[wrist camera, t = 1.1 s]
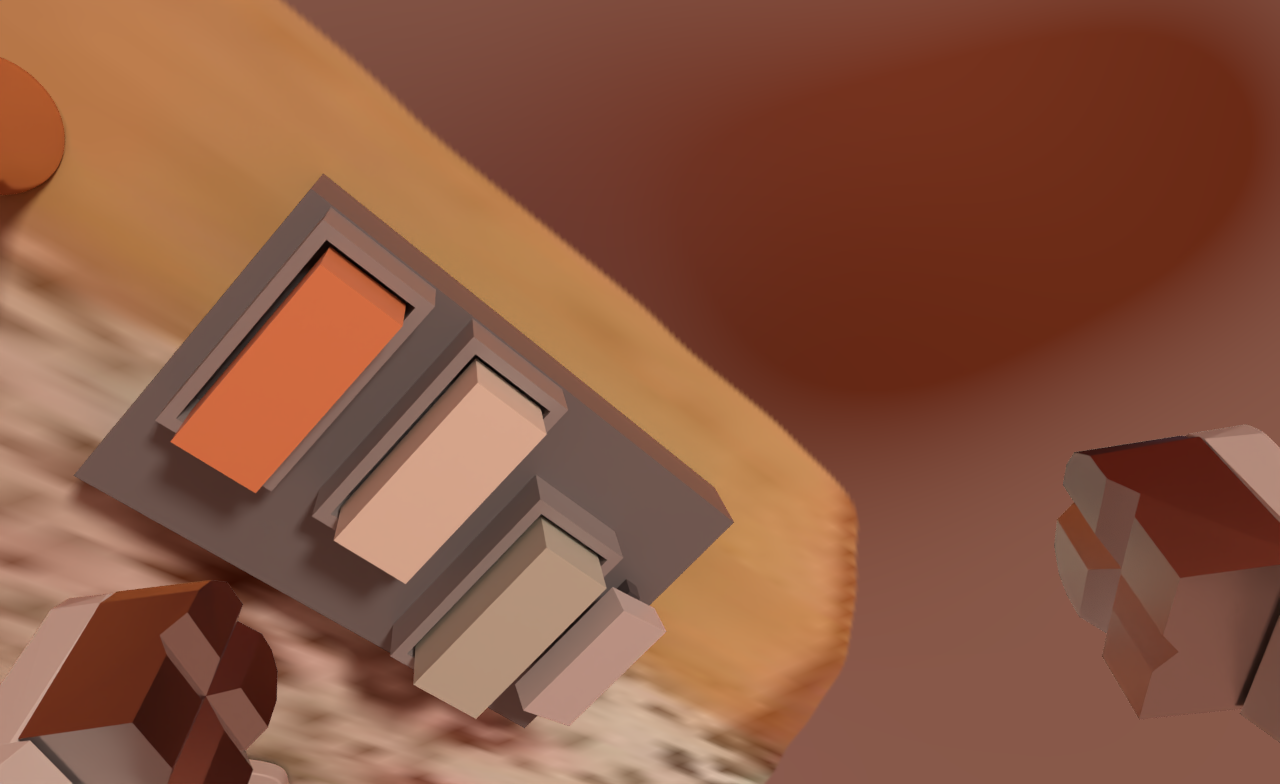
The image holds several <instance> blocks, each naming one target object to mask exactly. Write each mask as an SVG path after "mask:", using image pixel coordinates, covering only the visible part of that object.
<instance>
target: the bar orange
mask: <svg viewBox="0 0 1280 784" xmlns="http://www.w3.org/2000/svg"><path fill="white" fill-rule="evenodd" d="M405 308H406V304H405V303H403V302H402V301H401V300H399V299H398V298H397V297H396V296H394V295H393V294H392V293H390V292H389V291H388V290H386V289H385V288H384V287H382V286H381V285H380V284H379V283H377V282H376V281H375V280H373V279H372V278H371V277H369V276H368V275H367V274H365V273H364V272H363V271H362V270H360V269H359V268H358V267H356V266H355V265H354V264H352V263H351V262H350V261H348V260H347V259H346V258H345V257H343V256H342V255H341V254H339V253H338V252H337V251H335V250H334V249H333V248H332V247H329V248H328V249H327V250H326V252H325V253H324V254H323V255H322V256H321V257H320V259H319V260H318V261H317V262H316V263H315V265H314V266H313V267H312V268H311V269H310V270H309V272H308V273H307V274H306V275H305V276H304V278H303V279H302V280H301V281H300V282H299V284H298V285H297V286H296V287H295V288H294V289H293V291H292V292H291V293H290V294H289V295H288V297H287V298H286V299H285V300H284V301H283V302H282V304H281V305H280V306H279V307H278V308H277V310H276V311H275V312H274V313H273V314H272V315H271V317H270V318H269V319H268V320H267V321H266V323H265V324H264V325H263V326H262V327H261V329H260V330H259V331H258V332H257V333H256V334H255V336H254V337H253V338H252V339H251V340H250V342H249V343H248V344H247V345H246V346H245V347H244V349H243V350H242V351H241V352H240V353H239V355H238V356H237V357H236V358H235V359H234V361H233V362H232V363H231V364H230V365H229V366H228V368H227V369H226V370H225V371H224V372H223V374H222V375H221V376H220V377H219V378H218V379H217V381H216V382H215V383H214V384H213V385H212V387H211V388H210V389H209V390H208V391H207V393H206V394H205V395H204V396H203V397H202V398H201V400H200V401H199V402H198V403H197V404H196V406H195V407H194V408H193V409H192V410H191V411H190V413H189V414H188V416H187V417H186V419H185V420H184V422H183V423H182V425H181V426H180V428H179V429H178V431H177V432H176V434H175V435H174V437H173V439H172V440H171V443H173V444H175V445H176V446H178V447H180V448H181V449H183V450H185V451H186V452H188V453H190V454H191V455H193V456H195V457H196V458H198V459H200V460H201V461H203V462H205V463H206V464H208V465H209V466H211V467H213V468H214V469H216V470H218V471H219V472H221V473H223V474H224V475H226V476H228V477H229V478H231V479H233V480H234V481H236V482H238V483H239V484H241V485H243V486H244V487H246V488H248V489H249V490H251V491H252V492H254V493H256V492H257V491H258V490H259V489H260V488H261V487H262V485H263V484H264V483H265V482H266V481H267V480H268V479H269V477H270V476H271V475H272V474H273V473H274V472H275V471H276V470H277V468H278V467H279V466H280V465H281V464H282V463H283V462H284V460H285V459H286V458H287V457H288V456H289V455H290V454H291V452H292V451H293V450H294V449H295V448H296V447H297V446H298V445H299V443H300V442H301V441H302V440H303V439H304V438H305V437H306V435H307V434H308V433H309V432H310V431H311V430H312V429H313V427H314V426H315V425H316V424H317V423H318V422H319V421H320V420H321V418H322V417H323V416H324V415H325V414H326V413H327V412H328V410H329V409H330V408H331V407H332V406H333V405H334V404H335V402H336V401H337V400H338V399H339V398H340V397H341V396H342V395H343V393H344V392H345V391H346V390H347V389H348V388H349V387H350V385H351V384H352V383H353V382H354V381H355V380H356V379H357V377H358V376H359V375H360V374H361V373H362V372H363V371H364V370H365V368H366V367H367V366H368V365H369V364H370V363H371V362H372V360H373V359H374V358H375V357H376V356H377V355H378V354H379V352H380V351H381V350H382V349H383V348H384V347H385V346H386V345H387V343H388V342H389V341H390V340H391V339H392V338H393V337H394V335H395V334H396V333H397V332H398V331H399V330H400V329H401V327H402V326H403V321H404V314H405Z"/></svg>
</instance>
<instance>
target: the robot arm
mask: <svg viewBox="0 0 1280 784" xmlns="http://www.w3.org/2000/svg"><path fill="white" fill-rule="evenodd" d="M1063 486H1064V487H1065V489H1066V490H1067V492H1068V493H1069V495H1070V496H1071V498H1072V500H1073V501H1074V503H1073V504H1072V505H1071V506H1070V507H1069V508H1068V509H1067V510H1066V511H1065V512H1064V513H1063V514H1062V515H1061V516H1060V517H1059V518H1058V519H1057V527H1056V535H1055V544H1054V546H1055V553H1056V559H1057V565H1058V572H1059V575H1060V578H1061V580H1062V583H1063V586H1064V588H1065V591H1066V594H1067V596H1068V598H1069V599H1070V601H1071V603H1072V605H1073V607H1074V608H1075V610H1076V612H1077V614H1078V615H1079V617H1081V618H1083V619H1084V620H1086V621H1087V622H1089V623H1091V624H1092V625H1094V626H1096V627H1097V628H1099V629H1101V630H1102V631H1104V632H1106V633H1107V635H1106V640H1105V644H1104V649H1103V654H1102V657H1103V659H1104V660H1105V662H1106V664H1107V666H1108V667H1109V669H1110V671H1111V672H1112V674H1113V676H1114V677H1115V679H1116V681H1117V682H1118V684H1119V686H1120V688H1121V689H1122V691H1123V693H1124V694H1125V696H1126V698H1127V699H1128V701H1129V703H1130V705H1131V706H1132V708H1133V710H1134V711H1135V713H1136V715H1137V717H1138V718H1139V719H1147V718H1157V717H1167V716H1176V715H1186V714H1196V713H1206V712H1215V711H1225V710H1235V709H1242V710H1241V713H1240V714H1241V715H1242V716H1243V717H1245V718H1246V719H1248V720H1249V721H1250V722H1252V723H1253V724H1255V725H1256V726H1257V727H1259V728H1260V729H1262V730H1263V731H1264V732H1266V733H1267V734H1268V735H1270V736H1272V737H1273V738H1274V739H1275V740H1277V741H1278V742H1280V448H1279V447H1278V446H1277V445H1276V444H1275V443H1274V442H1273V441H1272V440H1271V439H1270V438H1269V437H1268V436H1267V435H1266V434H1265V433H1264V432H1262V431H1261V430H1258V429H1256V428H1254V427H1251V426H1248V425H1240V426H1234V427H1228V428H1222V429H1216V430H1209V431H1204V432H1197V433H1191V434H1188V435H1186V436H1175V437H1168V438H1162V439H1156V440H1149V441H1143V442H1136V443H1130V444H1123V445H1117V446H1111V447H1105V448H1098V449H1091V450H1086V451H1079V452H1074V454H1073V455H1072V457H1071V458H1070V460H1069V461H1068V463H1067V465H1066V471H1065V476H1064V482H1063ZM242 606H243V604H242V602H241V601H240V599H239V598H238V597H237V595H236V594H235V592H234V591H233V590H232V588H231V587H230V585H229V584H228V583H227V582H223V581H215V580H208V581H200V582H192V583H183V584H175V585H167V586H159V587H151V588H143V589H135V590H126V591H118V592H116V593H112V594H103V595H95V596H86V597H77V598H69V599H67V600H66V601H64V602H62V603H61V604H59V605H57V606H56V607H54V608H53V609H51V610H50V612H49V613H48V615H47V616H46V618H45V619H44V621H43V622H42V624H41V625H40V627H39V628H38V630H37V631H36V633H35V634H34V636H33V637H32V639H31V640H30V641H29V643H28V644H27V646H26V647H25V649H24V650H23V652H22V653H21V655H20V656H19V658H18V659H17V661H16V662H15V664H14V665H13V667H12V668H11V670H10V671H9V673H8V674H7V676H6V677H5V679H4V680H3V682H2V683H1V685H0V784H289V781H288V776H287V774H286V772H285V770H284V769H283V768H281V767H280V766H278V765H275V764H272V763H268V762H263V761H258V760H251V759H249V758H248V756H247V753H246V751H245V750H246V749H247V748H248V747H249V746H250V745H251V744H252V743H253V742H254V741H255V740H256V739H257V738H258V737H259V736H260V735H261V734H262V733H263V732H264V731H265V730H266V729H267V728H268V725H269V722H270V719H271V716H272V713H273V710H274V707H275V704H276V701H277V674H278V670H277V667H276V663H275V660H274V656H273V653H272V649H271V648H270V646H269V645H268V643H267V641H266V640H265V638H264V636H263V635H262V634H261V633H260V632H258V631H256V630H254V629H252V628H250V627H248V626H246V625H244V624H242V623H241V622H239V621H238V618H239V615H240V612H241V609H242Z"/></svg>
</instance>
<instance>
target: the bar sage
mask: <svg viewBox="0 0 1280 784" xmlns="http://www.w3.org/2000/svg"><path fill="white" fill-rule="evenodd" d="M605 589H606V584H605V581H604V577H603V573H602V569H601V566H600V562H599V558H598V555H597V554H596V553H594V552H593V551H591V550H590V549H589V548H587V547H586V546H584V545H583V544H581V543H580V542H579V541H577V540H576V539H574V538H573V537H571V536H570V535H569V534H567V533H566V532H564V531H563V530H561V529H560V528H559V527H557V526H556V525H554V524H553V523H551V522H550V521H549V520H547V519H546V518H544V517H543V516H541V515H540V517H539V518H538V519H537V520H536V521H535V522H534V523H533V524H532V525H531V526H530V527H529V528H528V529H527V530H526V531H525V532H524V533H523V534H522V535H521V536H520V537H519V538H518V539H517V540H516V541H515V542H514V544H513V545H512V546H511V547H510V548H509V549H508V550H507V551H506V552H505V553H504V554H503V555H502V556H501V557H500V558H499V559H498V560H497V561H496V562H495V563H494V564H493V565H492V566H491V567H490V568H489V570H488V571H487V572H486V573H485V574H484V575H483V576H482V577H481V578H480V579H479V580H478V581H477V582H476V583H475V584H474V585H473V586H472V587H471V588H470V589H469V590H468V591H467V592H466V593H465V594H464V595H463V597H462V598H461V599H460V600H459V601H458V602H457V603H456V604H455V605H454V606H453V607H452V608H451V609H450V610H449V611H448V612H447V613H446V614H445V615H444V616H443V617H442V618H441V619H440V620H439V621H438V623H437V624H436V625H435V626H434V627H433V628H432V629H431V630H430V631H429V632H428V633H427V634H426V635H425V636H424V637H423V638H422V639H421V640H420V641H419V642H418V643H417V644H416V646H415V663H414V681H413V685H415V686H417V687H418V688H420V689H422V690H424V691H426V692H427V693H429V694H431V695H433V696H435V697H437V698H438V699H440V700H442V701H444V702H446V703H448V704H449V705H451V706H453V707H455V708H457V709H458V710H460V711H462V712H464V713H466V714H468V715H469V716H471V717H473V718H475V719H477V718H478V717H479V716H480V715H481V714H482V713H483V712H484V711H485V710H486V709H487V708H488V707H489V706H490V705H491V704H492V703H493V702H494V701H495V700H496V699H497V698H498V697H499V696H500V695H501V694H502V693H503V692H504V691H505V690H506V689H507V688H508V687H509V686H510V685H511V684H512V683H513V682H514V681H515V680H516V679H517V678H518V677H519V676H520V675H521V674H522V673H523V672H524V671H525V670H526V669H527V668H528V667H529V666H530V665H531V664H532V663H533V662H534V661H535V660H536V659H537V658H538V657H539V656H540V655H541V654H542V653H543V652H544V650H545V649H546V648H547V647H548V646H549V645H550V644H551V643H552V642H553V641H554V640H555V639H556V638H557V637H558V636H559V635H560V634H561V633H562V632H563V631H564V630H565V629H566V628H567V627H568V626H569V625H570V624H571V623H572V622H573V621H574V620H575V619H576V618H577V617H578V616H579V615H580V614H581V613H582V612H583V611H584V610H585V609H586V608H587V607H588V606H589V605H590V604H591V603H592V602H593V601H594V600H595V599H596V598H597V597H598V596H599V595H600V594H601V593H602V592H603V591H604V590H605Z"/></svg>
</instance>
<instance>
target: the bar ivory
mask: <svg viewBox="0 0 1280 784" xmlns="http://www.w3.org/2000/svg"><path fill="white" fill-rule="evenodd" d="M546 435H547V434H546V429H545V425H544V421H543V416H542V412H541V408H540V407H539V406H538V405H537V404H535V403H534V402H533V401H531V400H530V399H529V398H527V397H526V396H525V395H523V394H522V393H521V392H520V391H518V390H517V389H516V388H514V387H513V386H512V385H510V384H509V383H508V382H507V381H505V380H504V379H503V378H501V377H500V376H499V375H497V374H496V373H495V372H493V371H492V370H491V369H490V368H488V367H487V366H486V365H484V364H483V363H482V362H480V361H479V360H478V359H475V360H474V361H473V362H472V363H471V364H470V365H469V366H468V367H467V369H466V370H465V371H464V372H463V373H462V374H461V375H460V376H459V377H458V379H457V380H456V381H455V382H454V383H453V384H452V385H451V386H450V387H449V388H448V390H447V391H446V392H445V393H444V394H443V395H442V396H441V397H440V398H439V399H438V401H437V402H436V403H435V404H434V405H433V406H432V407H431V408H430V409H429V411H428V412H427V413H426V414H425V415H424V416H423V417H422V418H421V419H420V420H419V422H418V423H417V424H416V425H415V426H414V427H413V428H412V429H411V430H410V431H409V433H408V434H407V435H406V436H405V437H404V438H403V439H402V440H401V441H400V443H399V444H398V445H397V446H396V447H395V448H394V449H393V450H392V451H391V452H390V454H389V455H388V456H387V457H386V458H385V459H384V460H383V461H382V462H381V463H380V465H379V466H378V467H377V468H376V469H375V470H374V471H373V472H372V473H371V475H370V476H369V477H368V478H367V479H366V480H365V481H364V482H363V483H362V484H361V486H360V487H359V488H358V489H357V490H356V491H355V492H354V493H353V494H352V495H351V497H350V498H349V499H348V500H347V501H346V502H345V503H344V504H343V505H342V507H341V510H340V515H339V519H338V523H337V528H336V532H335V537H334V541H335V542H337V543H339V544H340V545H342V546H343V547H345V548H347V549H348V550H350V551H352V552H353V553H355V554H357V555H358V556H360V557H362V558H363V559H365V560H367V561H368V562H370V563H372V564H373V565H375V566H377V567H378V568H380V569H382V570H383V571H385V572H386V573H388V574H390V575H391V576H393V577H395V578H396V579H398V580H400V581H401V582H403V583H405V584H406V583H407V582H408V581H409V580H410V579H411V578H412V577H413V576H414V575H415V574H416V572H417V571H418V570H419V569H420V568H421V567H422V566H423V565H424V564H425V563H426V562H427V561H428V560H429V559H430V558H431V557H432V556H433V554H434V553H435V552H436V551H437V550H438V549H439V548H440V547H441V546H442V545H443V544H444V543H445V542H446V541H447V540H448V539H449V538H450V536H451V535H452V534H453V533H454V532H455V531H456V530H457V529H458V528H459V527H460V526H461V525H462V524H463V523H464V522H465V521H466V519H467V518H468V517H469V516H470V515H471V514H472V513H473V512H474V511H475V510H476V509H477V508H478V507H479V506H480V505H481V504H482V503H483V501H484V500H485V499H486V498H487V497H488V496H489V495H490V494H491V493H492V492H493V491H494V490H495V489H496V488H497V487H498V486H499V485H500V483H501V482H502V481H503V480H504V479H505V478H506V477H507V476H508V475H509V474H510V473H511V472H512V471H513V470H514V469H515V468H516V466H517V465H518V464H519V463H520V462H521V461H522V460H523V459H524V458H525V457H526V456H527V455H528V454H529V453H530V452H531V451H532V450H533V448H534V447H535V446H536V445H537V444H538V443H539V442H540V441H541V440H542V439H543V438H544V437H545V436H546Z"/></svg>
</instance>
